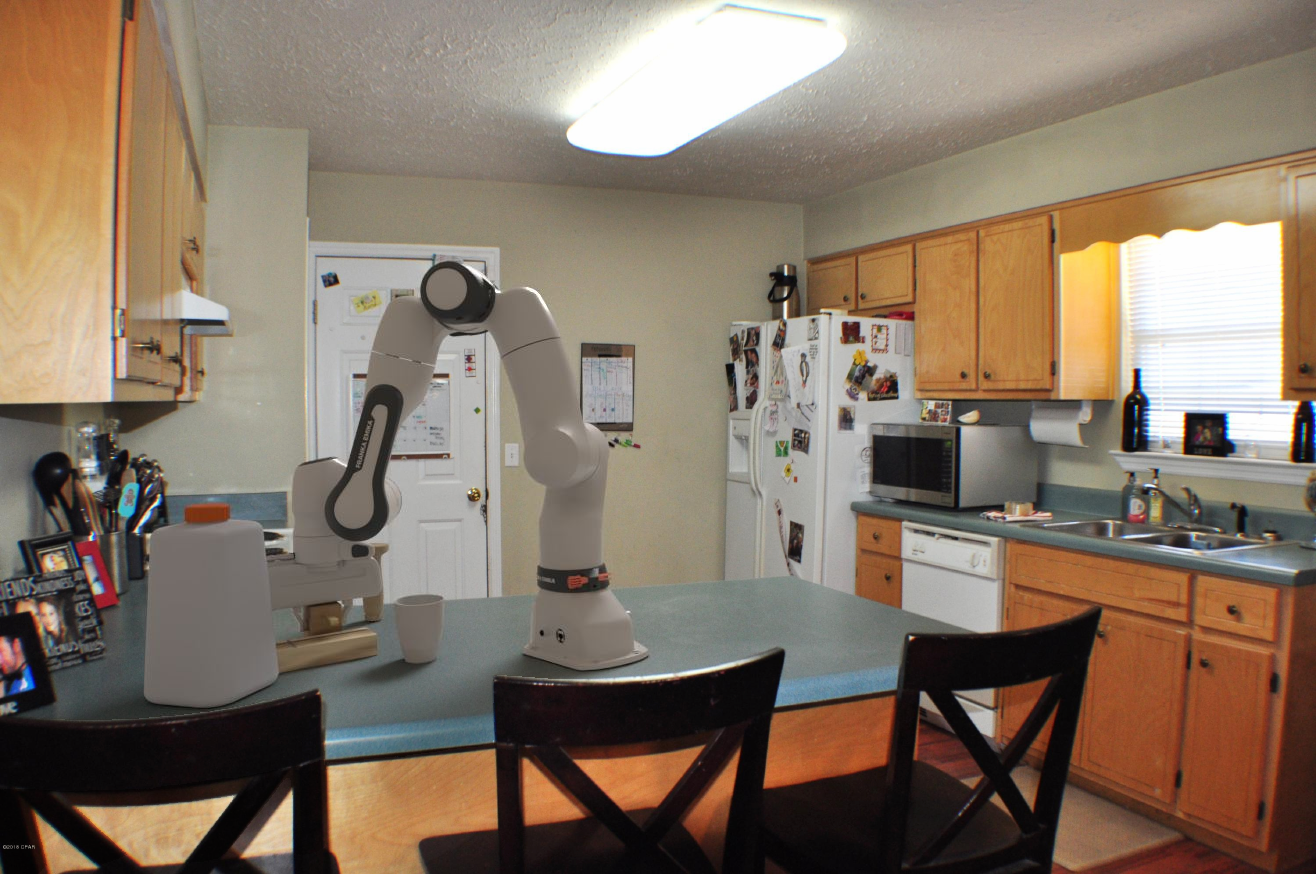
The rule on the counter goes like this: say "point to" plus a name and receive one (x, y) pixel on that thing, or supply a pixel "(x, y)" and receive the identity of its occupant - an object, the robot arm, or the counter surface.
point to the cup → (420, 626)
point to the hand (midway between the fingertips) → (322, 627)
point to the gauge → (323, 618)
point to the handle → (375, 603)
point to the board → (325, 649)
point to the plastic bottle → (208, 611)
